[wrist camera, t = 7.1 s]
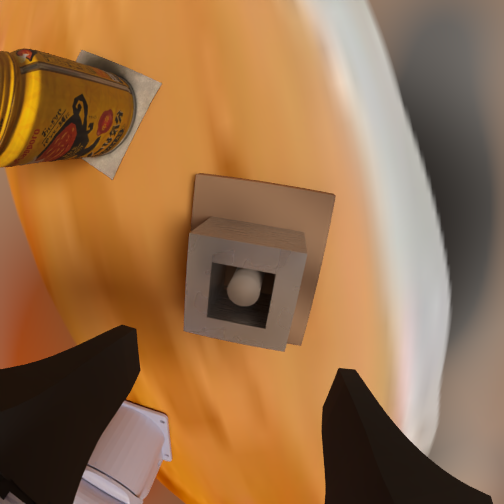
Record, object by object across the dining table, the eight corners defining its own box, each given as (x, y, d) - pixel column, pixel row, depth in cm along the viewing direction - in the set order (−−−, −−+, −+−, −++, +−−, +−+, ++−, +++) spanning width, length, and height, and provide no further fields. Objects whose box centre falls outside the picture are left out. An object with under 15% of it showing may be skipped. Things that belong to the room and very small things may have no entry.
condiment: (114, 179, 18) (-34, 217, 7) (45, 133, 18) (-79, 144, 7) (163, 84, 16) (22, 27, 5) (84, 50, 16) (-38, 16, 4)
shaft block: (300, 337, 20) (301, 379, 16) (189, 316, 21) (166, 352, 16) (333, 193, 17) (346, 205, 13) (201, 173, 18) (172, 178, 13)
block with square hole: (286, 314, 19) (284, 351, 15) (203, 298, 19) (183, 331, 15) (304, 232, 17) (307, 253, 13) (211, 216, 17) (189, 232, 13)
